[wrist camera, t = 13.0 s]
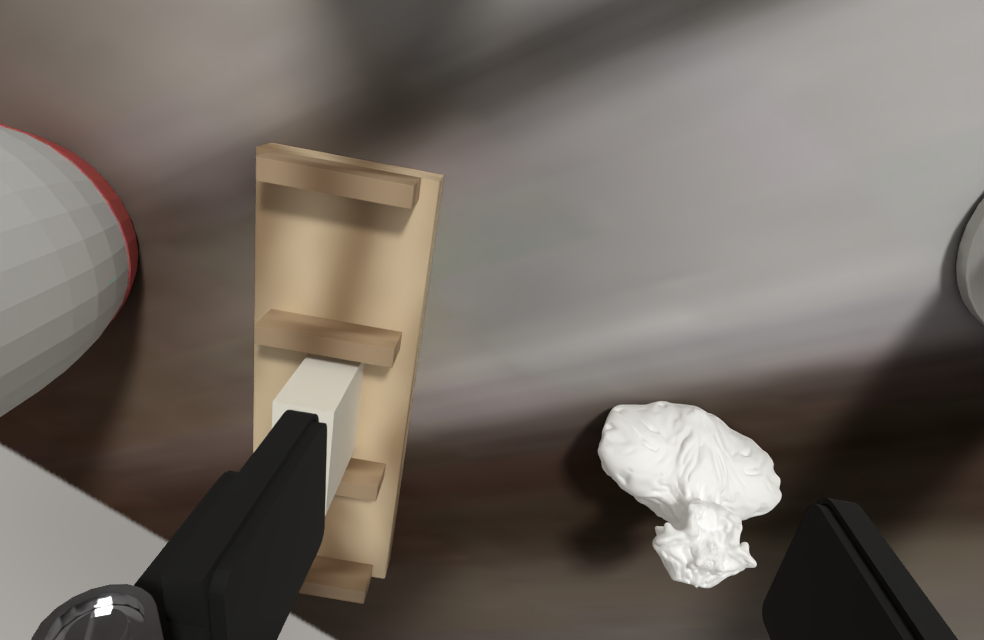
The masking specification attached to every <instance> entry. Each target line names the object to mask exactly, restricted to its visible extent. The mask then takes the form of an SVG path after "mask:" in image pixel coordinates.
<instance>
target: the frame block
mask: <svg viewBox="0 0 984 640" xmlns="http://www.w3.org/2000/svg"><path fill="white" fill-rule="evenodd" d="M363 371H364V363H361V362H356V361H350V360H344V359H339V358H333V357H327V356H322V355H316V354H310V353H309V354H308V355H307V356H306V358H305V359H304V360H303V362H302V363H301V364H300V366H299V367H298V368H297V370H296V371H295V372H294V374H293V375H292V376H291V378H290V379H289V380H288V382H287V383H286V384H285V386H284V387H283V388H282V390H281V391H280V392H279V394H278V395H277V396H276V398H275V399H274V400H273V405H272V428H273V427H274V425H275V424H276V423H277V421H278V420H279V419H280V417H281V416H282V415H283V413H284V412H285V411H286V410H295V411H301V412H308V413H314V414H317V415H318V418H319V422H322V423H326V424H327V459H326V497H325V516H326V514H327V511H328V509H329V507H330V504H331V502H332V500H333V497H334V495H335V493H336V491H337V488H338V486H339V484H340V481H341V479H342V477H343V475H344V472H345V470H346V468H347V465H348V463H349V461H350V459H351V456H352V454H353V452H354V449H355V447H356V438H357V429H358V419H359V409H360V400H361V390H362V381H363Z"/></svg>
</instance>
